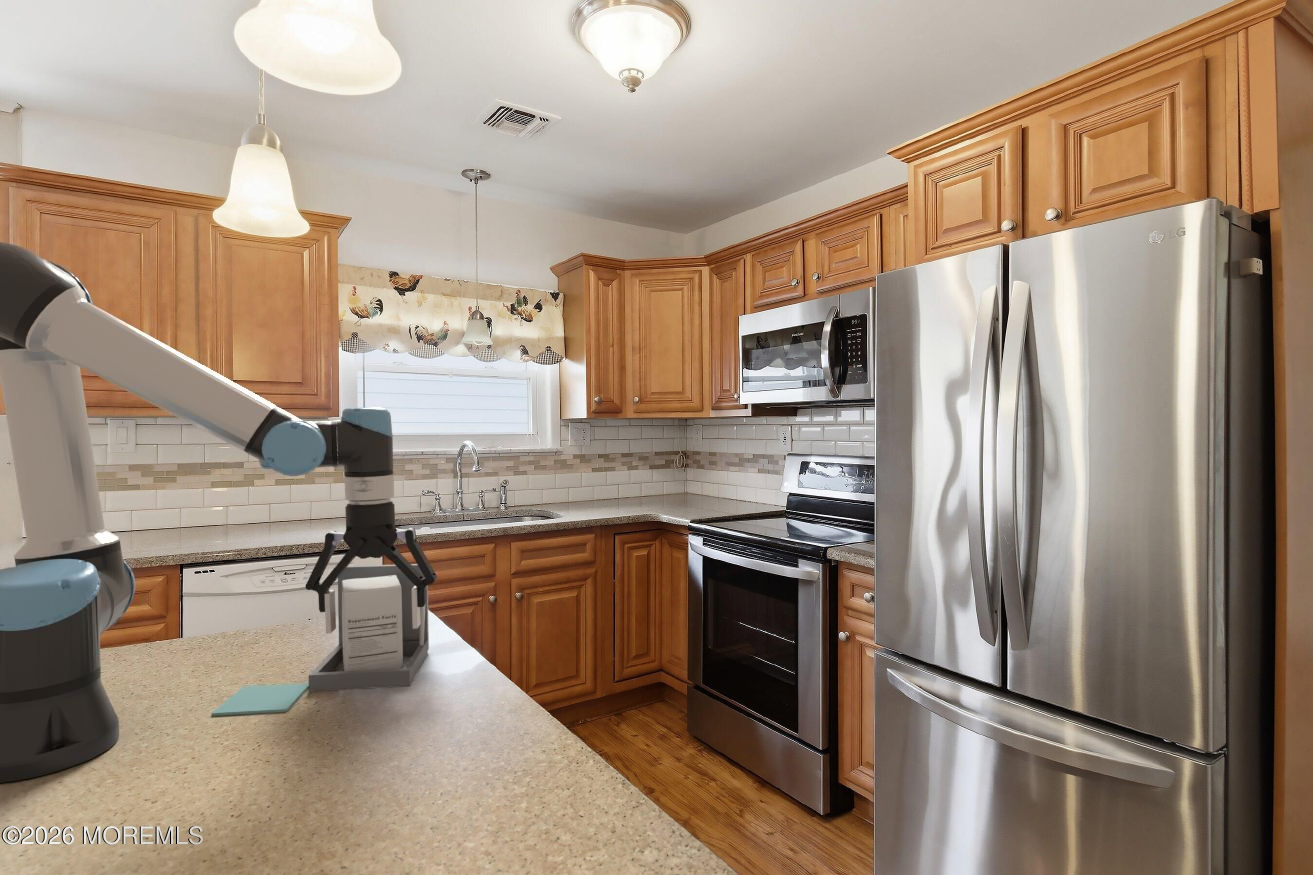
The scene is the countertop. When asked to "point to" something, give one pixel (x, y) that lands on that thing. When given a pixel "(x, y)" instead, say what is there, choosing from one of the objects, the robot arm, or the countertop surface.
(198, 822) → the countertop surface
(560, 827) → the countertop surface
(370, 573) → the case
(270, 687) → the mat
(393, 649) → the supplement box
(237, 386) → the robot arm
